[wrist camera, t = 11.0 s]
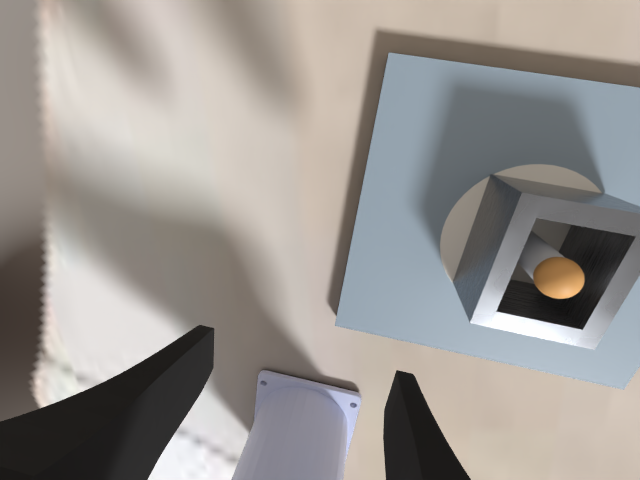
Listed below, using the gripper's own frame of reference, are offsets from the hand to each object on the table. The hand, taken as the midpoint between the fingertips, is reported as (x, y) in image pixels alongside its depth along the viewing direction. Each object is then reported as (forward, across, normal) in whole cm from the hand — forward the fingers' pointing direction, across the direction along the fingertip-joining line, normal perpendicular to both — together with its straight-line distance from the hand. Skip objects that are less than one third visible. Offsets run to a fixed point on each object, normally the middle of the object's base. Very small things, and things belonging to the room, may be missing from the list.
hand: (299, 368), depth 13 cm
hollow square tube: (+8, -10, -4) cm, 14 cm away
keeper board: (+9, -10, -4) cm, 14 cm away
